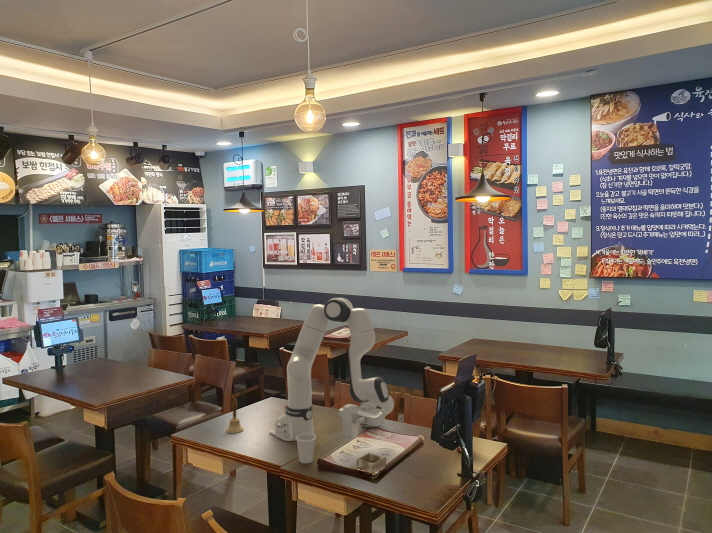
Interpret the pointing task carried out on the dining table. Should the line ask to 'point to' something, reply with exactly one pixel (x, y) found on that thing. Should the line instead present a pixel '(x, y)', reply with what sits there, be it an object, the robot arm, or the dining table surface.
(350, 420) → the peg
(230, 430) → the hand bell
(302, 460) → the dixie cup
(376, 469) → the box
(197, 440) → the dining table surface
